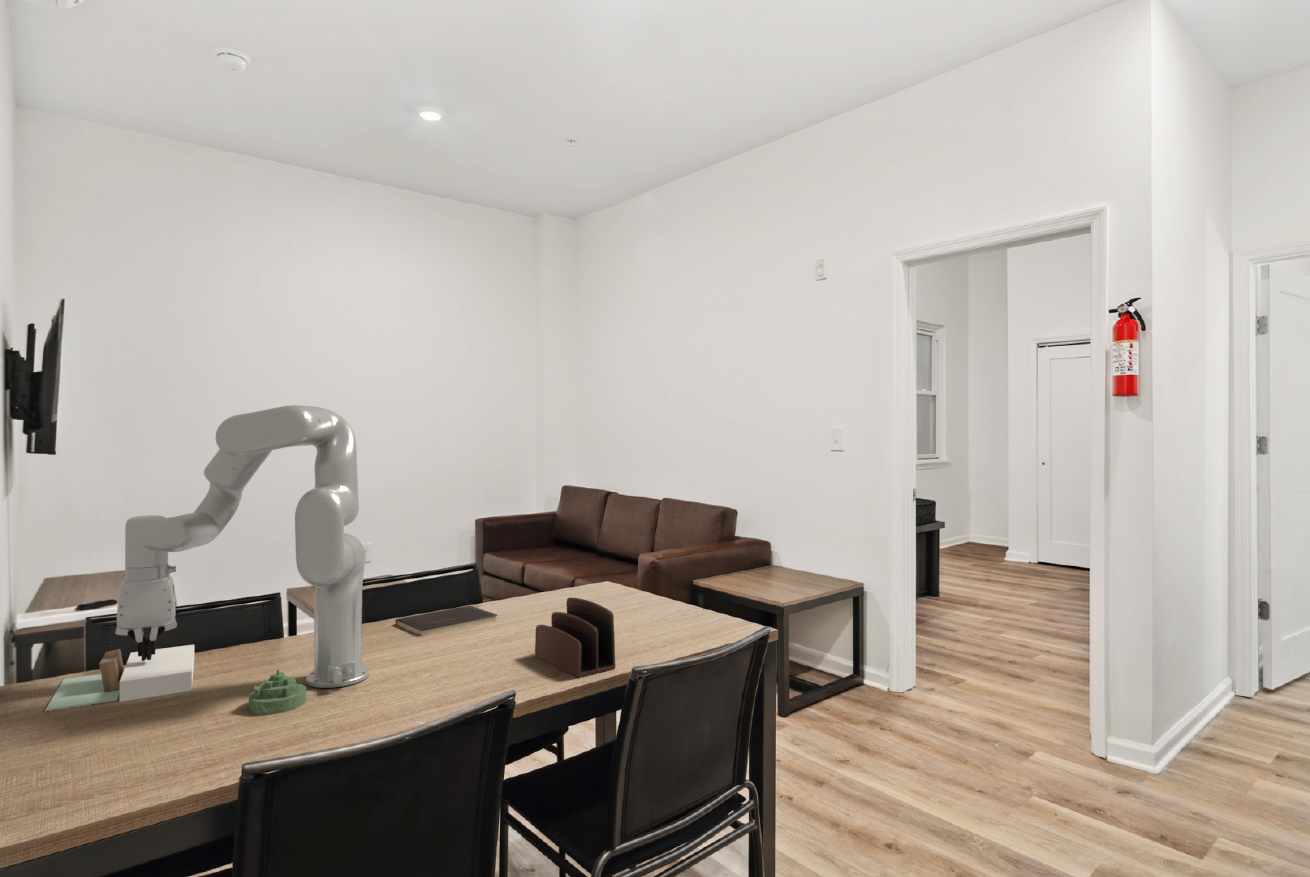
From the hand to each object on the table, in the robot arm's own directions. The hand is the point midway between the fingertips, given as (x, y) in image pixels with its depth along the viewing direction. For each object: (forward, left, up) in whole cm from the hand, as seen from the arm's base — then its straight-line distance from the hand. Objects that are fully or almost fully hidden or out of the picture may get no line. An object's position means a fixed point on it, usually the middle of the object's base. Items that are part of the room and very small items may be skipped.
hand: (146, 658), depth 152 cm
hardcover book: (+15, -68, -6) cm, 70 cm away
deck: (0, -2, -5) cm, 6 cm away
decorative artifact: (-29, -23, -6) cm, 37 cm away
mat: (0, +10, -5) cm, 11 cm away
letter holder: (-36, -84, -6) cm, 92 cm away
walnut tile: (0, +6, -2) cm, 6 cm away
